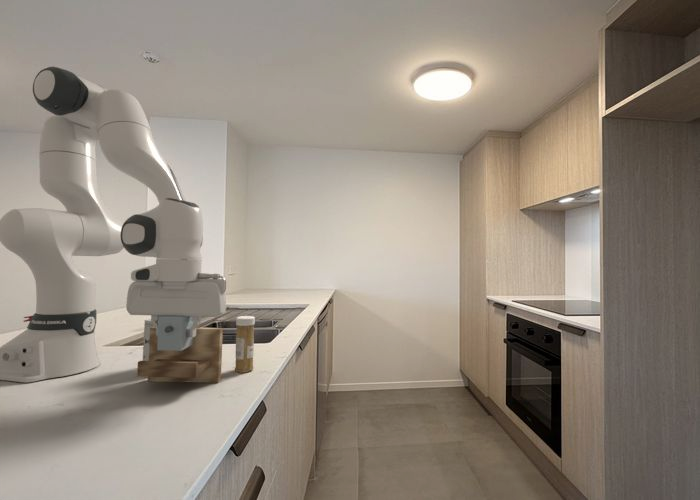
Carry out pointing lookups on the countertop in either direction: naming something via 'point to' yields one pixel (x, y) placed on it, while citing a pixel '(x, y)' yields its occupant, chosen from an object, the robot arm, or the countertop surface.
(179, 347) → the cabinet box
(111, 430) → the countertop surface
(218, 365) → the wall board
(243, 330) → the sprinkles bottle
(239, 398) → the countertop surface
